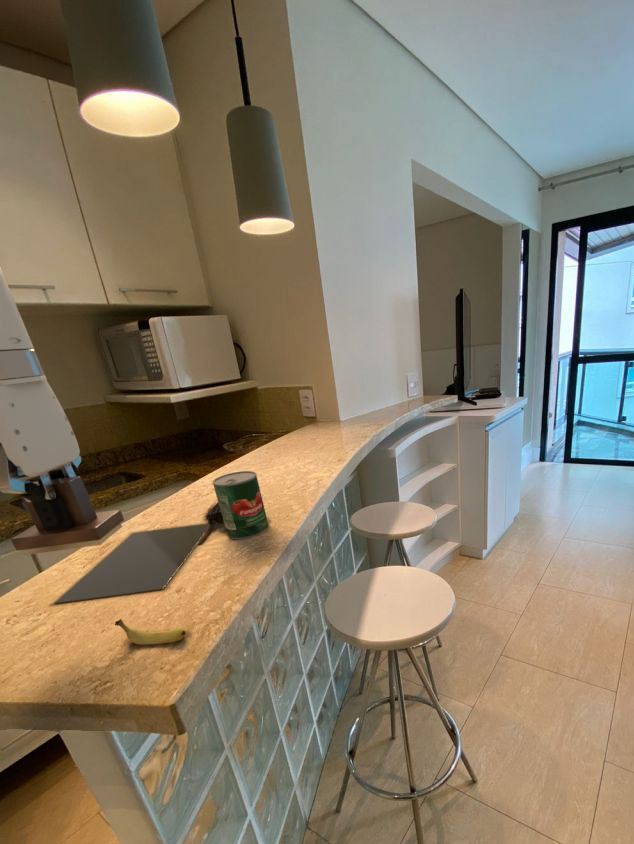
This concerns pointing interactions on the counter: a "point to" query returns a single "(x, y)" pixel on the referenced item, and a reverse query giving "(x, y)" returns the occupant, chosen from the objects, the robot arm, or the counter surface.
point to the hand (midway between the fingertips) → (67, 522)
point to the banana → (151, 635)
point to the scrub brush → (86, 521)
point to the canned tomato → (241, 504)
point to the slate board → (139, 564)
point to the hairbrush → (214, 512)
